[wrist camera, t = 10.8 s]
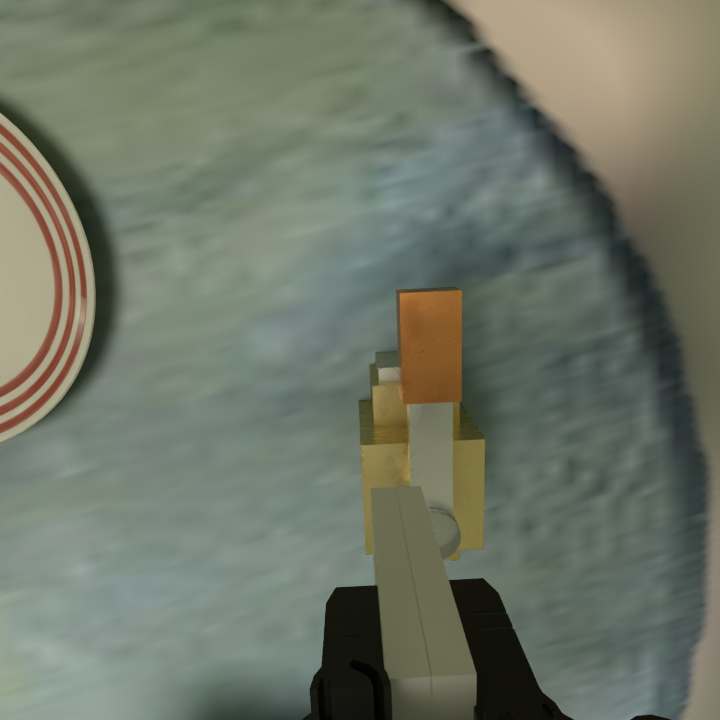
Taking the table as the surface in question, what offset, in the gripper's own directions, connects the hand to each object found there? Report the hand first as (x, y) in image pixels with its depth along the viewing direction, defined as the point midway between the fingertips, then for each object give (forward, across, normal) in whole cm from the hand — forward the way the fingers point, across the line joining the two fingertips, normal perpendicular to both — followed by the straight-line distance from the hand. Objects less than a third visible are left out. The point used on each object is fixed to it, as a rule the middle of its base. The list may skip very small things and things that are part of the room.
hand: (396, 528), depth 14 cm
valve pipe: (+25, +3, -8) cm, 26 cm away
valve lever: (+16, +3, -2) cm, 16 cm away
